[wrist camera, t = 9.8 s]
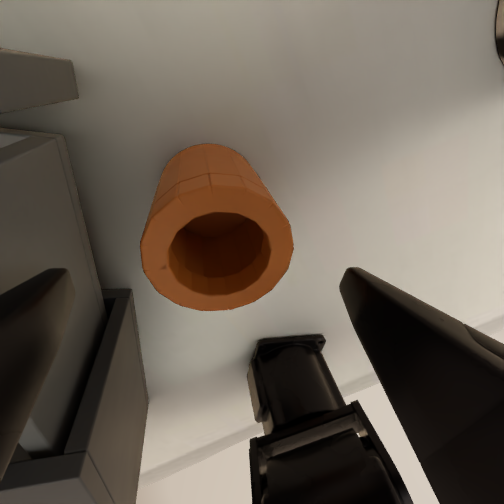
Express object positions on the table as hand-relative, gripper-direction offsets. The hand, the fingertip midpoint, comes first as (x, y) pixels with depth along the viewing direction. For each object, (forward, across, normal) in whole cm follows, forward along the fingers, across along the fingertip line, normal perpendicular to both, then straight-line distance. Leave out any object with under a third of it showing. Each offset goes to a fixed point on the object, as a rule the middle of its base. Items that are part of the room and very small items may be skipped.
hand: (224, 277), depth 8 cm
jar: (+7, 0, 0) cm, 7 cm away
